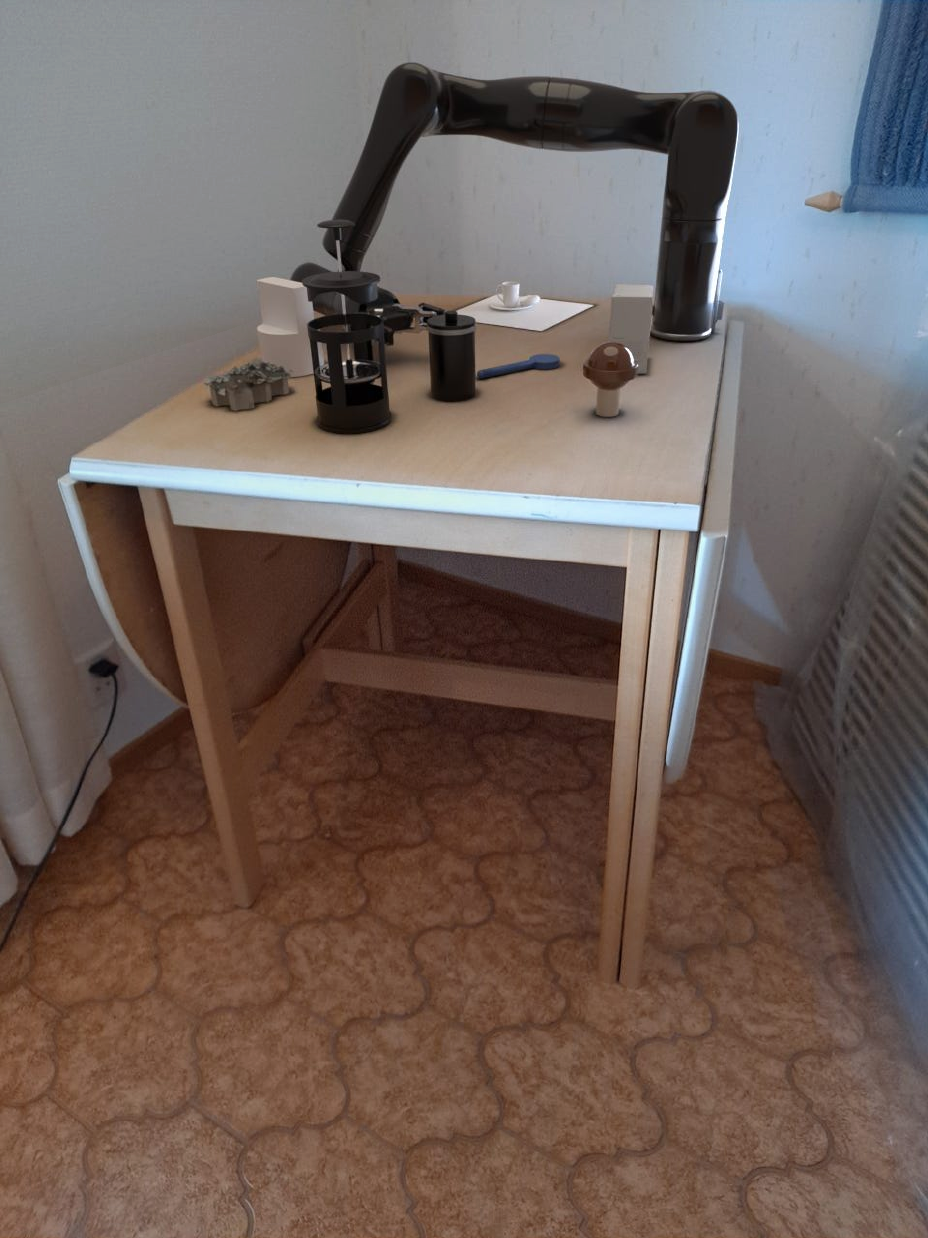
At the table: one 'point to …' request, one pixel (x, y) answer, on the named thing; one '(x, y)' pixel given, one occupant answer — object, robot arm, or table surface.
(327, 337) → the french press
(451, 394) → the pot
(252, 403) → the egg carton
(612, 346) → the mushroom
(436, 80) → the robot arm
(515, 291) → the teacup and saucer
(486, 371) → the round blue paddle
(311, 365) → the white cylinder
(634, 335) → the small box
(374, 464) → the table surface
